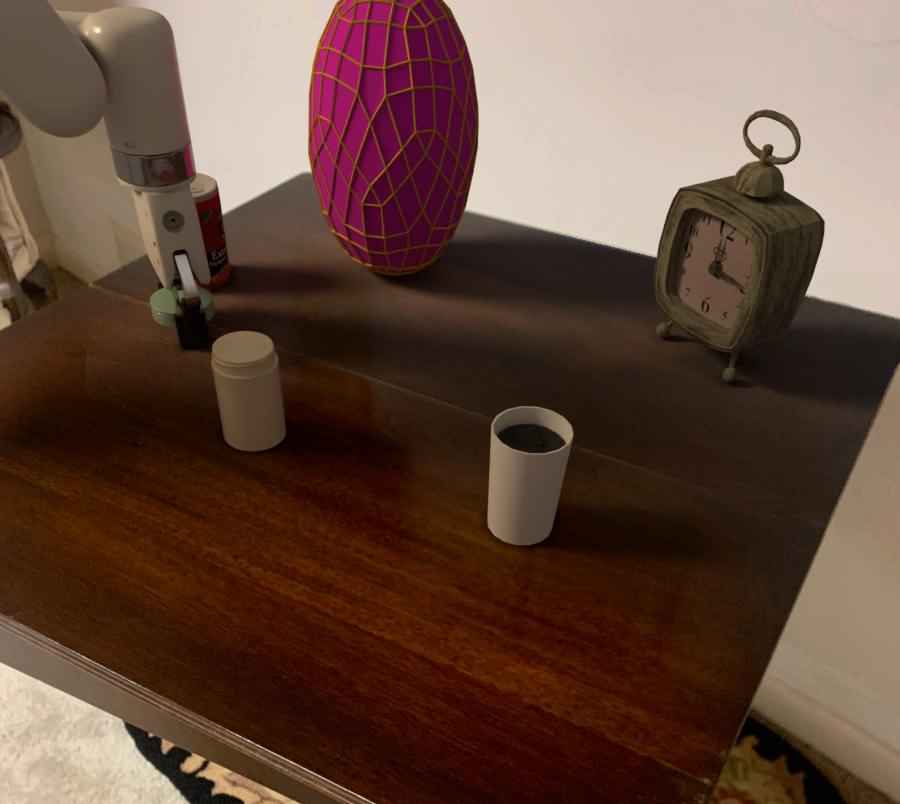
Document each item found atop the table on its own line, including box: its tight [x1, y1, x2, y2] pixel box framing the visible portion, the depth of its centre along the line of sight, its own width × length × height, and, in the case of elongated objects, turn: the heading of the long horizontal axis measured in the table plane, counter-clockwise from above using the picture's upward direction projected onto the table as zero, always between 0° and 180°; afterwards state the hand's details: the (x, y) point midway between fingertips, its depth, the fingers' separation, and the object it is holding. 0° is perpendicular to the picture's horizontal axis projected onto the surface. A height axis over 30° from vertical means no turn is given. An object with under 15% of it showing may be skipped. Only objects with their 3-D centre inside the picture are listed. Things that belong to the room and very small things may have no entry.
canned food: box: [190, 172, 231, 291], centre depth 103 cm, size 8×8×11 cm
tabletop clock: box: [652, 109, 826, 384], centre depth 91 cm, size 14×9×25 cm, turn 32°
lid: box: [149, 286, 216, 329], centre depth 97 cm, size 7×7×2 cm
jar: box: [210, 330, 287, 452], centre depth 82 cm, size 6×6×9 cm
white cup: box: [486, 405, 574, 546], centre depth 75 cm, size 7×7×10 cm
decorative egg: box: [307, 0, 480, 277], centre depth 100 cm, size 19×19×30 cm
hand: (186, 328), depth 99 cm, fingers closed on lid, 6 cm apart
